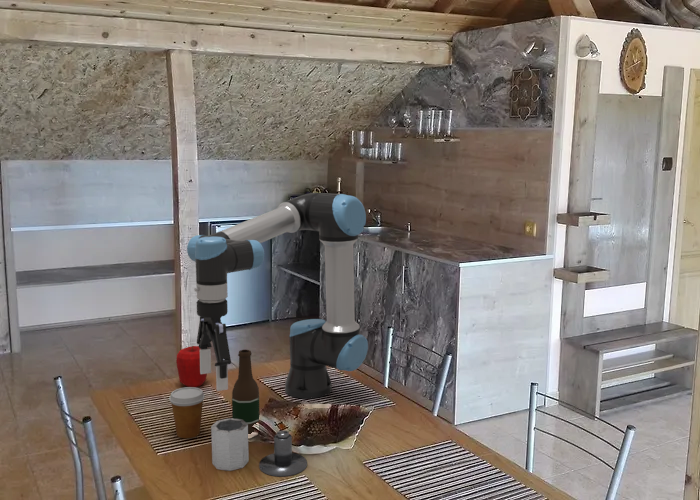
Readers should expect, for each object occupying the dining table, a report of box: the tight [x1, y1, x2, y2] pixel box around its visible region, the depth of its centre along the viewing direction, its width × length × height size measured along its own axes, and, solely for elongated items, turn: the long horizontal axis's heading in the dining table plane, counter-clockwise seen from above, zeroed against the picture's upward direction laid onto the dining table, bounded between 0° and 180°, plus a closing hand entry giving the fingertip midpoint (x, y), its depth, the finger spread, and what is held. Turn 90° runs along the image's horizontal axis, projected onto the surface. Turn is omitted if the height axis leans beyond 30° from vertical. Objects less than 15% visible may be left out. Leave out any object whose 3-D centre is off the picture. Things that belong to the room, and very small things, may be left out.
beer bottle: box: [231, 349, 261, 434], centre depth 194 cm, size 8×8×24 cm
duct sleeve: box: [210, 417, 250, 472], centre depth 179 cm, size 8×8×10 cm
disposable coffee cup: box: [168, 386, 206, 439], centre depth 195 cm, size 10×10×12 cm
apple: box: [175, 345, 208, 388], centre depth 232 cm, size 11×10×14 cm
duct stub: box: [258, 430, 308, 478], centre depth 177 cm, size 12×12×9 cm
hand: (213, 381), depth 179 cm, fingers open, 13 cm apart
